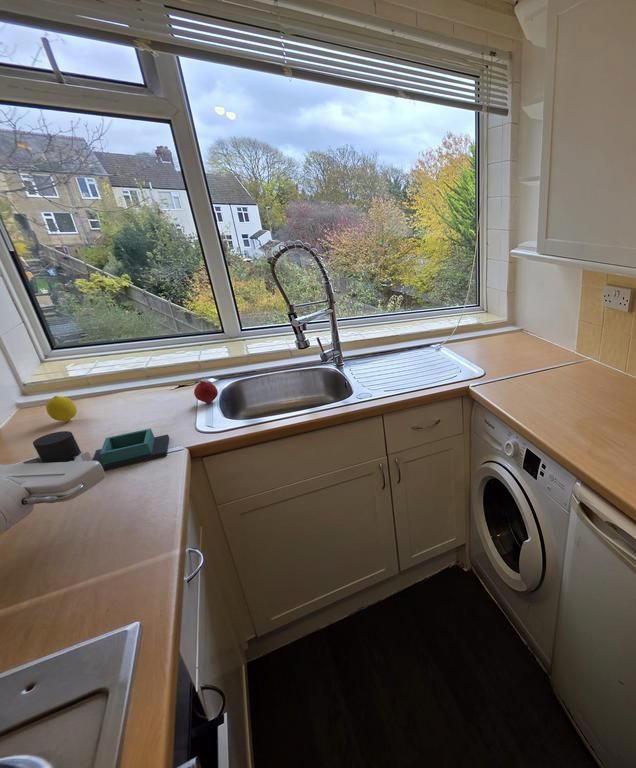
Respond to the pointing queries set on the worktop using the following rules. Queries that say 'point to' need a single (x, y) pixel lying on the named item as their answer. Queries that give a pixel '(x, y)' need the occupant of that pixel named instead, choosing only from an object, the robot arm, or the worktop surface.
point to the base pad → (131, 449)
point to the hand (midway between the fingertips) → (66, 455)
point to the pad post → (56, 447)
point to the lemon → (61, 408)
